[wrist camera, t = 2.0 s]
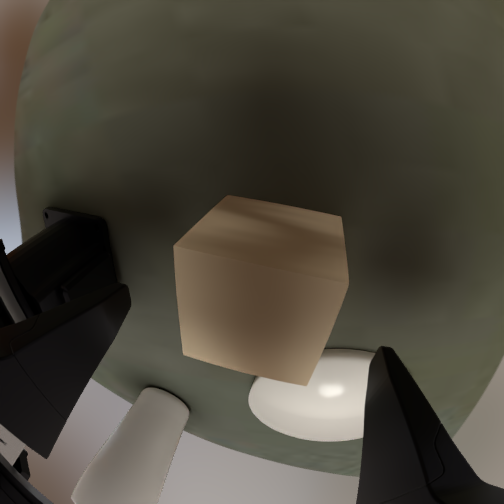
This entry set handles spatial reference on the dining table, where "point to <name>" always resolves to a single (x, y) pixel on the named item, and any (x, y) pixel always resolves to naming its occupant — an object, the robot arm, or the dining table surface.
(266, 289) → the oak block
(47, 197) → the dining table surface
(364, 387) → the plate
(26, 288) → the robot arm
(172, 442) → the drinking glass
